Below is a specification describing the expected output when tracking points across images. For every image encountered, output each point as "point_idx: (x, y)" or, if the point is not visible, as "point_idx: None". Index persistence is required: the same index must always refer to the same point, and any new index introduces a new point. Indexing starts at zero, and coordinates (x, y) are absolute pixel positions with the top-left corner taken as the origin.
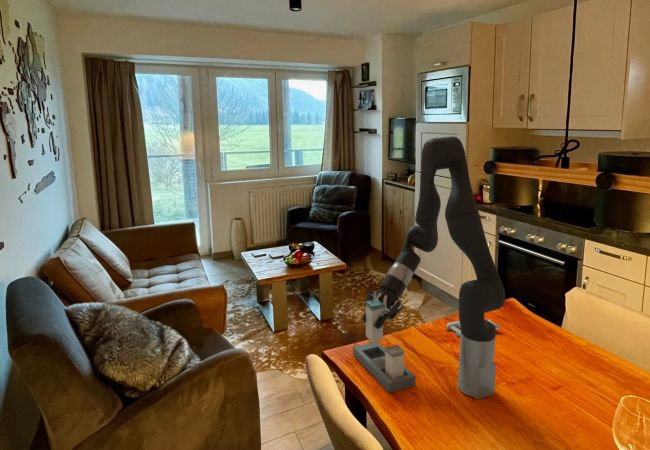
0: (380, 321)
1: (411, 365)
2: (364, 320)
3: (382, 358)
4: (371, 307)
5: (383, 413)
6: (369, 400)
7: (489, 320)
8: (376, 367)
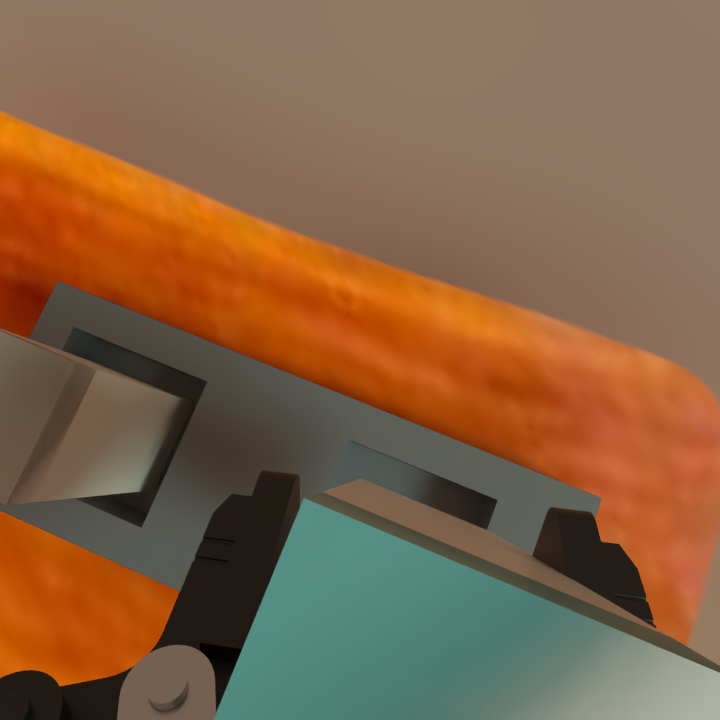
0: (206, 568)
1: None
2: (546, 527)
3: None
4: (344, 509)
5: (21, 139)
6: (145, 170)
7: None
8: (244, 379)
